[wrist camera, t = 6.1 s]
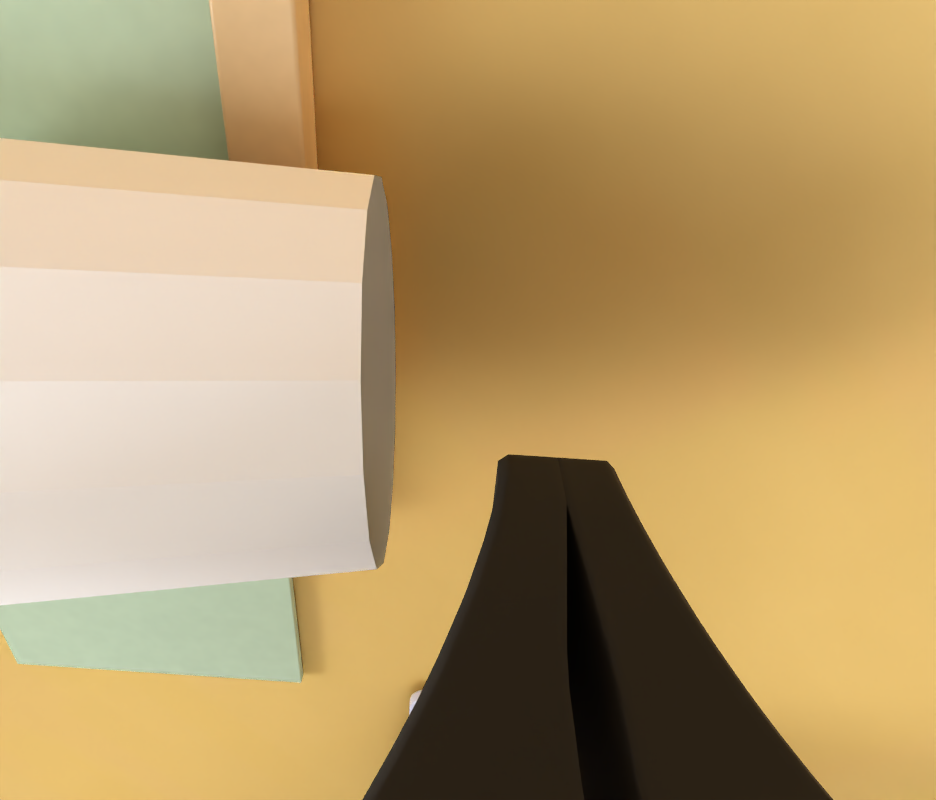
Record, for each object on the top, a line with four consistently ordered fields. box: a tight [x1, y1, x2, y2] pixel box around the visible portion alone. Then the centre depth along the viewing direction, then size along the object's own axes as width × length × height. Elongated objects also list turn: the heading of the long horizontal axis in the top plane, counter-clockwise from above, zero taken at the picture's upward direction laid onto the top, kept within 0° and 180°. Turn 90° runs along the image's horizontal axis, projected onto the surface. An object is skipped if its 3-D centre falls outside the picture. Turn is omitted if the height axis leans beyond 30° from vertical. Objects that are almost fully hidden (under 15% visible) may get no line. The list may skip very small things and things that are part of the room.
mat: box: [0, 0, 303, 682], centre depth 16 cm, size 18×8×1 cm, turn 176°
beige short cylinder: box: [0, 138, 396, 605], centre depth 11 cm, size 7×7×7 cm
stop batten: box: [209, 0, 318, 169], centre depth 14 cm, size 12×1×1 cm, turn 176°
